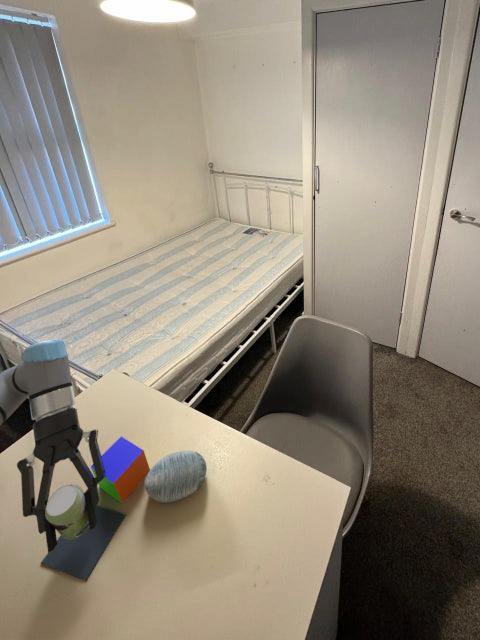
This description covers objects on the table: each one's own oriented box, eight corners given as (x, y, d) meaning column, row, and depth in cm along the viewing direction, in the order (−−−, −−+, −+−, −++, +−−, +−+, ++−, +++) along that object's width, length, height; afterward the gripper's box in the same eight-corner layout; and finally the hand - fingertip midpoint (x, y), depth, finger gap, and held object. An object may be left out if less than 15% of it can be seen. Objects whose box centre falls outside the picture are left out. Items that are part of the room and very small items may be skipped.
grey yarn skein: (210, 445, 83) (195, 442, 75) (214, 490, 78) (197, 492, 69) (159, 461, 83) (138, 460, 75) (159, 507, 77) (136, 512, 69)
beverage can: (91, 500, 71) (75, 467, 66) (101, 529, 66) (84, 496, 61) (57, 524, 67) (37, 491, 62) (65, 557, 62) (44, 524, 57)
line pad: (40, 564, 65) (40, 563, 65) (85, 502, 74) (84, 501, 74) (86, 580, 62) (85, 580, 62) (126, 515, 72) (125, 514, 72)
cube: (128, 456, 84) (121, 436, 81) (150, 470, 81) (143, 450, 77) (99, 486, 77) (90, 466, 74) (121, 503, 74) (113, 483, 71)
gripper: (108, 394, 76) (129, 502, 70) (5, 433, 67) (19, 560, 61) (102, 394, 69) (125, 514, 63) (-12, 438, 61) (2, 581, 55)
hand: (73, 536), depth 62 cm, fingers closed on beverage can, 6 cm apart
